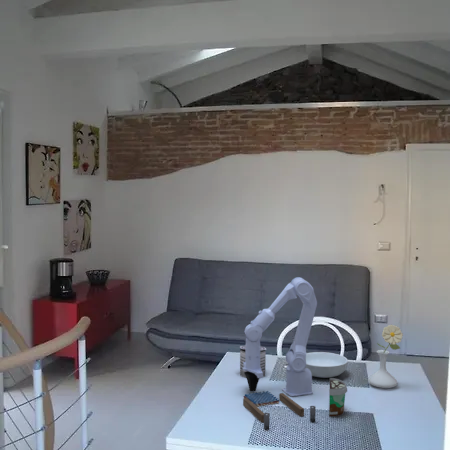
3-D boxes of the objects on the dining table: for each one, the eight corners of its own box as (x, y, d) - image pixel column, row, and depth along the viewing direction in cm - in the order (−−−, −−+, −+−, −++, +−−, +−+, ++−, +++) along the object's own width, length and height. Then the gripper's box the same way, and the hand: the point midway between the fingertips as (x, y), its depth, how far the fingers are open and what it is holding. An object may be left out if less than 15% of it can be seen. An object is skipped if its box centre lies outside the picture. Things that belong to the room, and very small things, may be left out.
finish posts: (313, 420, 178) (313, 405, 178) (316, 422, 177) (316, 407, 176) (262, 428, 172) (263, 413, 171) (265, 430, 170) (265, 415, 170)
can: (234, 374, 224) (234, 347, 224) (250, 368, 233) (250, 341, 232) (255, 381, 217) (255, 352, 216) (271, 374, 226) (271, 346, 225)
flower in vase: (366, 388, 209) (367, 325, 208) (369, 379, 219) (370, 319, 218) (400, 393, 204) (402, 328, 203) (402, 383, 214) (403, 322, 213)
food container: (347, 419, 179) (348, 390, 178) (329, 418, 180) (329, 389, 179) (346, 405, 191) (347, 378, 190) (329, 404, 192) (329, 377, 191)
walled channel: (282, 399, 197) (282, 392, 196) (304, 415, 182) (304, 408, 181) (243, 405, 191) (243, 398, 191) (261, 422, 176) (261, 415, 176)
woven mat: (242, 398, 199) (242, 393, 198) (267, 395, 202) (267, 389, 202) (253, 409, 189) (253, 403, 189) (280, 405, 193) (280, 399, 193)
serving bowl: (311, 363, 240) (311, 349, 240) (355, 372, 228) (355, 357, 227) (288, 376, 223) (289, 360, 223) (335, 386, 211) (335, 369, 211)
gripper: (236, 351, 208) (236, 385, 208) (250, 362, 194) (250, 398, 195) (252, 350, 210) (252, 383, 211) (268, 360, 196) (267, 396, 197)
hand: (252, 390), depth 203 cm, fingers closed
